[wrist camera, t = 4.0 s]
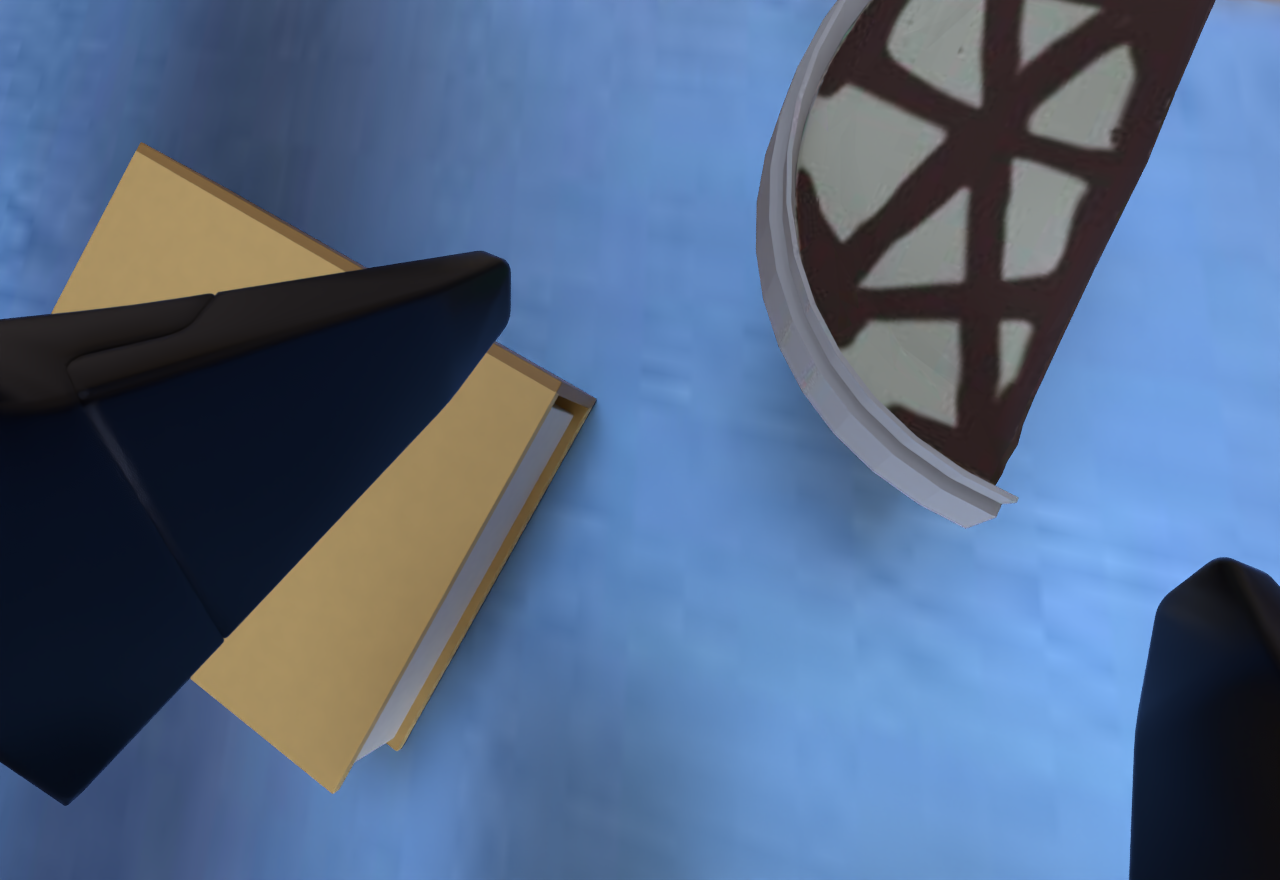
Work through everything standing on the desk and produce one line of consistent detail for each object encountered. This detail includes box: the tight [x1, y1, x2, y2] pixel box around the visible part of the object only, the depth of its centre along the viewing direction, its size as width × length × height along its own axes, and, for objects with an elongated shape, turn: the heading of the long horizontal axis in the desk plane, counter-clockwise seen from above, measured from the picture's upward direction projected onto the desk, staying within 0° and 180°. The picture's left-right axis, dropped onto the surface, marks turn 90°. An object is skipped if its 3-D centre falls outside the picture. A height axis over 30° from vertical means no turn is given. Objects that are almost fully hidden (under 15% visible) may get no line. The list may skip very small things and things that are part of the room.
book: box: [51, 142, 596, 794], centre depth 22 cm, size 17×13×4 cm
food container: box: [756, 0, 1215, 529], centre depth 15 cm, size 12×6×10 cm, turn 155°
